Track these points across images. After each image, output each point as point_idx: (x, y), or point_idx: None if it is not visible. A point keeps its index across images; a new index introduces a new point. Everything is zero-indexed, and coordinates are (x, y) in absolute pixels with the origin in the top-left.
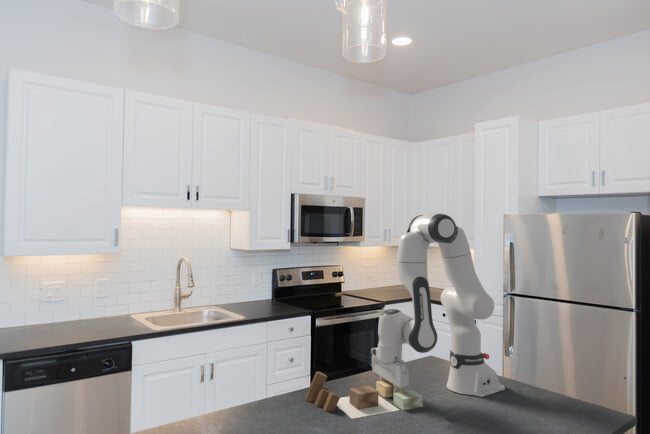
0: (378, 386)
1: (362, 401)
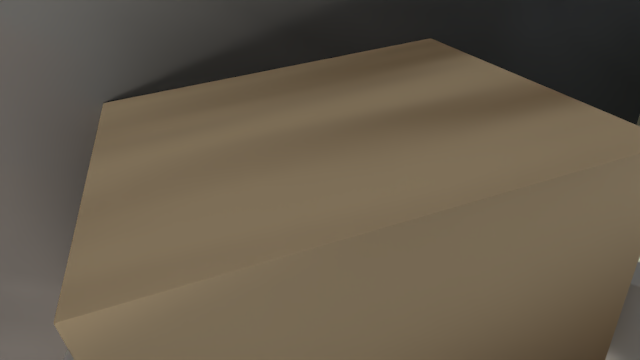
0: None
1: None
